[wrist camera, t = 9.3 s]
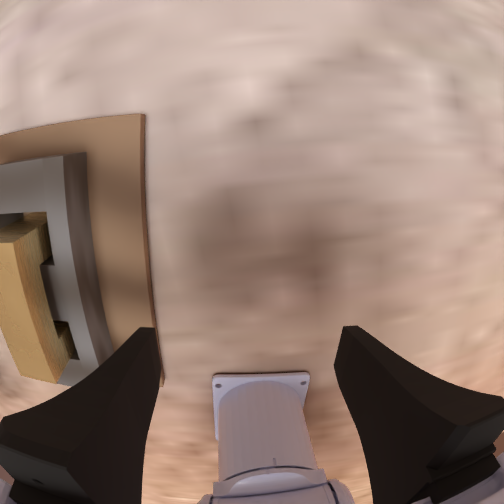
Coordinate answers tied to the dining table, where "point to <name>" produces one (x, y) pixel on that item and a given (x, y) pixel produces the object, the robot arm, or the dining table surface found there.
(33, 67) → the dining table surface
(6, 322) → the pine wood offcut
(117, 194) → the rail board
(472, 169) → the dining table surface
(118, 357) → the robot arm
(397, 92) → the dining table surface
